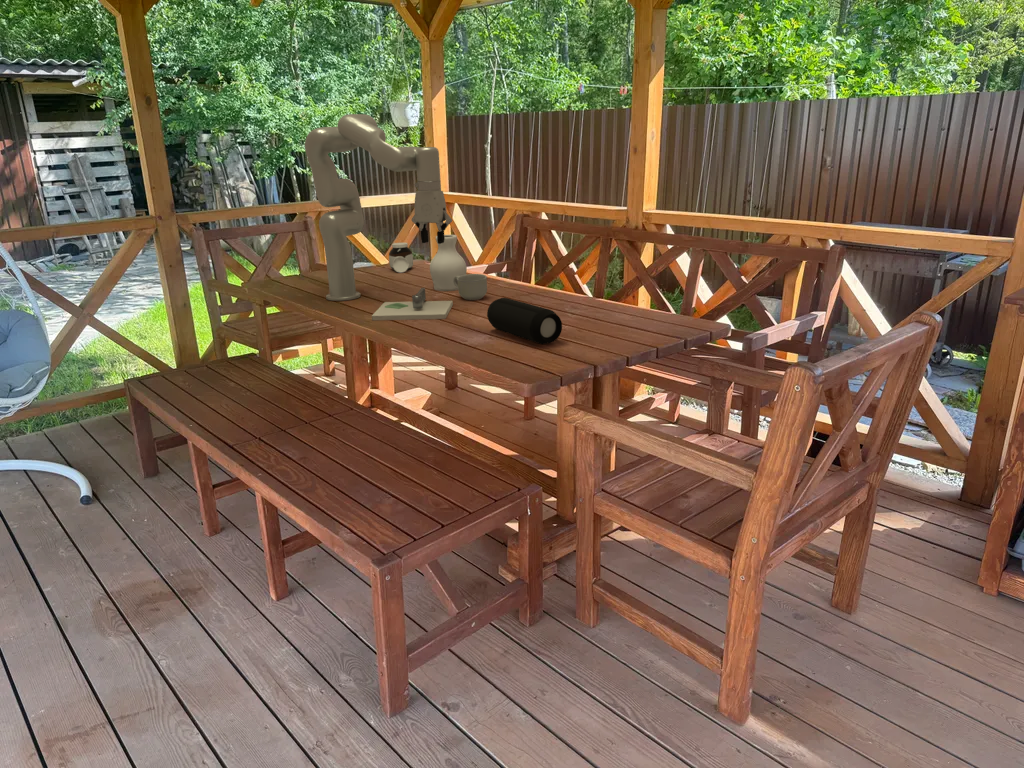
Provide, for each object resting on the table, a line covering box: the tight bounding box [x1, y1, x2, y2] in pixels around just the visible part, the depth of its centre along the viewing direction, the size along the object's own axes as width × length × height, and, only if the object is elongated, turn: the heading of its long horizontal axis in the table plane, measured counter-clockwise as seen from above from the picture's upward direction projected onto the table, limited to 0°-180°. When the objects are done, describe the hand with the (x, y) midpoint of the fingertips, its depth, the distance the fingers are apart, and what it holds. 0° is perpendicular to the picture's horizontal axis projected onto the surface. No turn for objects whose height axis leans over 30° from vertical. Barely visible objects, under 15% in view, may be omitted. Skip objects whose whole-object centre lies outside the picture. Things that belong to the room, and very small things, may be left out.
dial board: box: [371, 300, 454, 321], centre depth 245 cm, size 20×24×2 cm
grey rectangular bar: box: [411, 287, 427, 309], centre depth 247 cm, size 15×3×4 cm, turn 177°
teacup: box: [453, 273, 488, 301], centre depth 263 cm, size 14×11×8 cm
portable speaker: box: [486, 297, 563, 345], centre depth 211 cm, size 26×10×10 cm, turn 36°
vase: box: [429, 234, 468, 292], centre depth 280 cm, size 14×14×20 cm
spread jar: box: [388, 242, 414, 274], centre depth 320 cm, size 12×11×12 cm
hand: (433, 242), depth 243 cm, fingers open, 5 cm apart
